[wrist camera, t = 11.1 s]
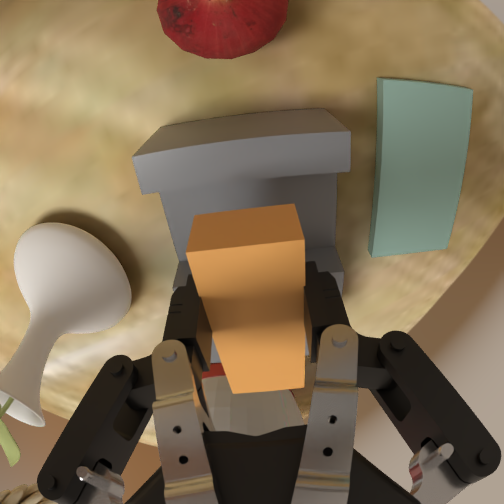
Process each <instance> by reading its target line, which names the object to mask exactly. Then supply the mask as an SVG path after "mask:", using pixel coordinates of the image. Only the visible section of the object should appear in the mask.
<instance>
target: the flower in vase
mask: <svg viewBox="0 0 504 504" xmlns="http://www.w3.org/2000/svg"><path fill="white" fill-rule="evenodd" d="M14 269H15V274H16V278H17V282H18V285H19V288H20V290H21V292H22V294H23V297H24V299H25V301H26V303H27V304H28V307H29V309H30V312H31V320H30V323H29V327H28V329H27V331H26V334H25V336H24V338H23V340H22V342H21V344H20V345H19V347H18V349H17V351H16V352H15V354H14V355H13V357H12V358H11V360H10V361H9V363H8V364H7V365H6V366H5V368H4V369H3V370H2V371H1V372H0V418H1V417H2V416H3V415H4V413H7V414H8V415H10V416H12V417H14V418H16V419H18V420H20V421H22V422H24V423H27V424H30V425H33V426H37V427H43V426H45V420H44V417H43V414H42V410H41V405H40V385H41V379H42V374H43V371H44V367H45V364H46V361H47V358H48V355H49V353H50V351H51V349H52V347H53V345H54V343H55V342H56V340H57V339H58V338H59V337H60V336H61V335H63V334H66V333H94V332H99V331H103V330H106V329H109V328H111V327H113V326H115V325H116V324H117V323H118V322H119V321H120V320H122V319H123V317H124V316H125V315H126V314H127V312H128V310H129V308H130V305H131V299H132V296H131V288H130V284H129V281H128V278H127V276H126V273H125V271H124V269H123V267H122V265H121V264H120V262H119V261H118V259H117V258H116V257H115V255H114V254H113V253H112V252H111V251H110V250H109V249H108V248H107V247H106V246H105V245H104V244H103V243H102V242H101V241H100V240H98V239H97V238H96V237H94V236H93V235H91V234H89V233H88V232H86V231H84V230H82V229H80V228H77V227H75V226H72V225H68V224H63V223H41V224H37V225H34V226H32V227H30V228H29V229H27V230H26V231H25V232H24V233H23V234H22V235H21V237H20V239H19V240H18V243H17V246H16V250H15V254H14ZM0 444H1V446H2V447H3V449H4V451H5V454H6V456H7V458H8V461H9V463H10V466H11V467H12V466H13V465H15V464H16V463H17V462H18V460H19V459H20V455H21V453H20V450H19V447H18V445H17V443H16V442H15V440H14V439H13V437H12V435H11V434H10V432H9V430H8V428H7V427H6V425H5V424H4V422H3V421H2V420H1V419H0ZM0 504H57V503H56V502H53V501H51V500H48V499H46V498H45V497H43V496H42V494H41V493H40V492H39V489H38V486H37V483H36V484H32V485H30V486H29V487H27V485H26V484H23V485H20V486H18V487H16V488H14V489H13V490H12V491H10V490H4V491H2V492H0Z"/></svg>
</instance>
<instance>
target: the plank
mask: <svg viewBox="0 0 504 504" xmlns="http://www.w3.org/2000/svg"><path fill="white" fill-rule="evenodd" d="M186 256H187V259H188V262H189V266H190V269H191V272H192V275H193V279H194V282H195V285H196V288H197V291H198V295H199V297H201V299H202V302H203V305H204V308H205V311H206V314H207V317H208V320H209V323H210V326H211V330H212V337H213V340H214V343H215V346H216V349H217V351H218V354H219V357H220V360H221V363H222V366H223V368H224V371H225V374H226V377H227V379H228V382H229V385H230V387H231V390H232V393H233V394H238V393H253V392H265V391H276V390H286V389H295V388H303V387H304V379H305V327H304V286H305V239H304V236H303V232H302V228H301V225H300V221H299V218H298V214H297V211H296V207H295V204H284V205H275V206H265V207H257V208H248V209H239V210H231V211H223V212H215V213H207V214H199V215H194V219H193V223H192V228H191V232H190V236H189V240H188V245H187V249H186Z"/></svg>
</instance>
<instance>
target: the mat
mask: <svg viewBox="0 0 504 504" xmlns="http://www.w3.org/2000/svg"><path fill="white" fill-rule="evenodd" d="M472 100H473V90H472V89H469V88H466V87H461V86H455V85H448V84H441V83H434V82H425V81H416V80H405V79H392V78H377V143H376V165H375V181H374V195H373V206H372V217H371V227H370V236H369V244H368V251H369V253H370V255H371V257H372V258H373V257H382V256H391V255H399V254H408V253H416V252H425V251H433V250H441V249H447V247H448V243H449V239H450V236H451V232H452V228H453V224H454V219H455V215H456V211H457V206H458V202H459V197H460V192H461V187H462V181H463V176H464V170H465V164H466V157H467V150H468V142H469V134H470V125H471V114H472Z"/></svg>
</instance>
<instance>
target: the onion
mask: <svg viewBox="0 0 504 504" xmlns="http://www.w3.org/2000/svg"><path fill="white" fill-rule="evenodd" d="M287 8H288V0H158V6H157V12H158V15H159V18H160V21H161V24H162V28H163V31H164V33H165V34H166V35H167V36H168V37H169V38H170V39H171V40H172V41H174V42H175V43H176V44H177V45H178V46H179V47H180V48H181V49H182V50H184V51H187V52H190V53H193V54H195V55H198V56H201V57H204V58H214V59H233V58H236V57H240V56H243V55H246V54H250V53H253V52H255V51H257V50H258V49H260V48H261V47H263V46H264V45H266V44H267V43H269V42H270V41H272V40H273V39H274V38H275V37H276V35H277V33H278V32H279V30H280V29H281V27H282V26H283V24H284V23H285V21H286V17H287Z"/></svg>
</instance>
